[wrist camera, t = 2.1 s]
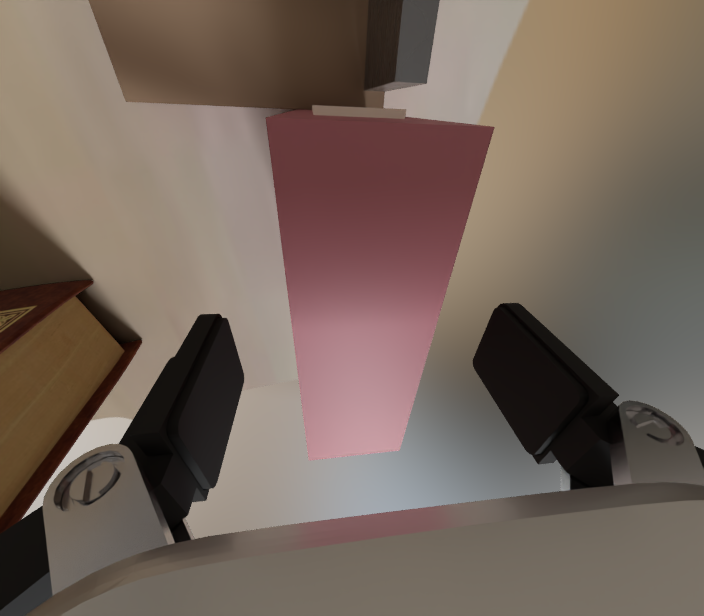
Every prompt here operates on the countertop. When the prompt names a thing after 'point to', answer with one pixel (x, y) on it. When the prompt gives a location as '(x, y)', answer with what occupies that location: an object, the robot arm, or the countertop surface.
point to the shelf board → (239, 52)
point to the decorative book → (48, 384)
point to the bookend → (399, 43)
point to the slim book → (367, 259)
